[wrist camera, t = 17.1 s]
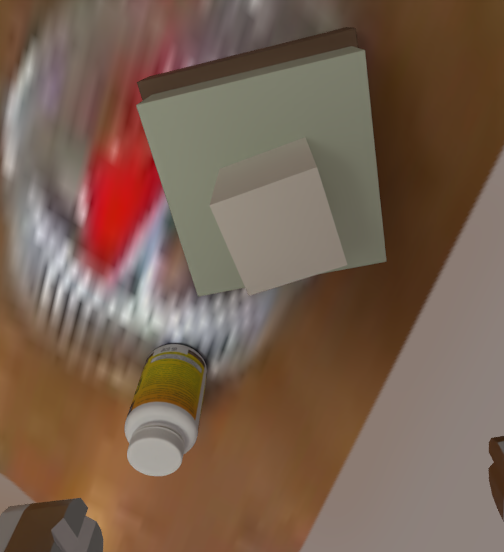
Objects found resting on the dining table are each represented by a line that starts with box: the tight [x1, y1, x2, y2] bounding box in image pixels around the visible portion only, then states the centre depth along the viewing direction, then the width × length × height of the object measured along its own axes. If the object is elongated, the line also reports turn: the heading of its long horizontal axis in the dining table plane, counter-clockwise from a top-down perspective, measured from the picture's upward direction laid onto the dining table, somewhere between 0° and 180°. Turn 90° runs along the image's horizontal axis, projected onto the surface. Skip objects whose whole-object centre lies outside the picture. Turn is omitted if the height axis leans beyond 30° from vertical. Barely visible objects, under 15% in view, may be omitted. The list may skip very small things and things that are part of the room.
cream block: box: [209, 137, 347, 296], centre depth 24 cm, size 5×5×6 cm
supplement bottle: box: [125, 344, 207, 476], centre depth 38 cm, size 6×6×10 cm
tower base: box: [137, 27, 358, 100], centre depth 32 cm, size 13×13×4 cm
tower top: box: [136, 46, 386, 296], centre depth 29 cm, size 12×12×4 cm
